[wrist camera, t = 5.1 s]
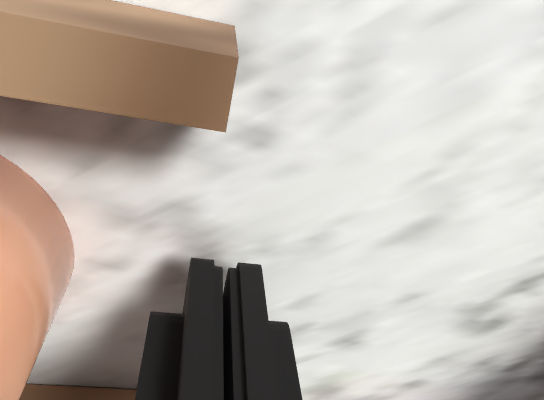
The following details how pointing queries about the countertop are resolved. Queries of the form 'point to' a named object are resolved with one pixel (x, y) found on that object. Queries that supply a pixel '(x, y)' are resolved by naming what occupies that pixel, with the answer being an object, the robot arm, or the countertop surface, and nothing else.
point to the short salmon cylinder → (28, 273)
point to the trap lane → (116, 79)
